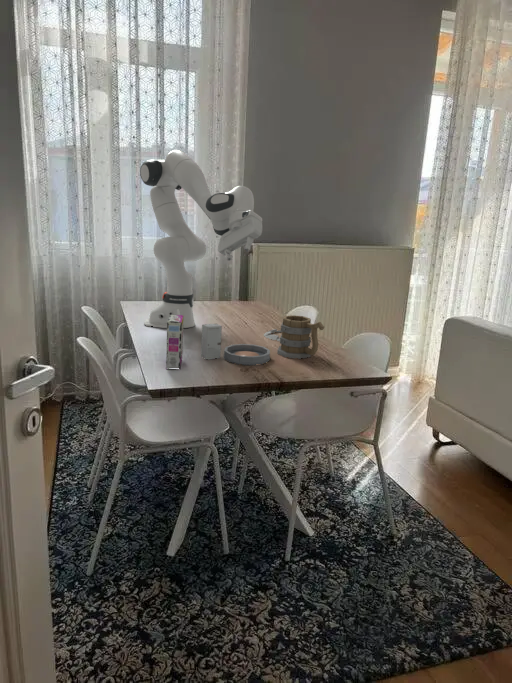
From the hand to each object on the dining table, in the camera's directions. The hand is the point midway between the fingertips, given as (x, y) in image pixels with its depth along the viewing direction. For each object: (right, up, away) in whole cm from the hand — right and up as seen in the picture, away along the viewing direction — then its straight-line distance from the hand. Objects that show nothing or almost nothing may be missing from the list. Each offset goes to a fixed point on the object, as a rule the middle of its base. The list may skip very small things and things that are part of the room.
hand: (237, 254), depth 187 cm
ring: (+20, -30, +37) cm, 51 cm away
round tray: (+3, -37, +2) cm, 38 cm away
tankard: (+23, -37, +9) cm, 45 cm away
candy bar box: (-21, -39, -10) cm, 46 cm away
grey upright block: (-10, -37, +1) cm, 39 cm away
